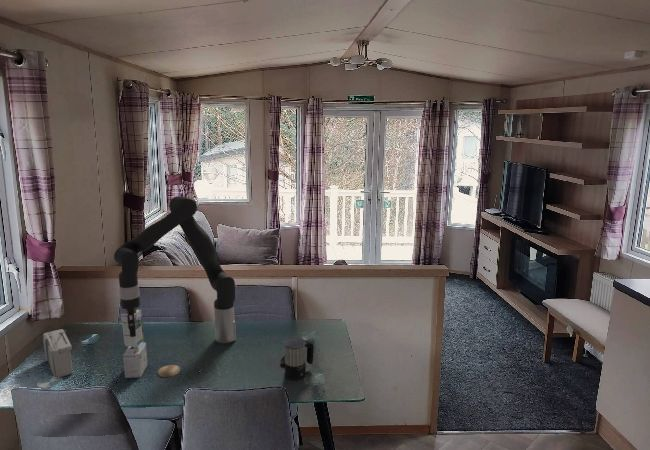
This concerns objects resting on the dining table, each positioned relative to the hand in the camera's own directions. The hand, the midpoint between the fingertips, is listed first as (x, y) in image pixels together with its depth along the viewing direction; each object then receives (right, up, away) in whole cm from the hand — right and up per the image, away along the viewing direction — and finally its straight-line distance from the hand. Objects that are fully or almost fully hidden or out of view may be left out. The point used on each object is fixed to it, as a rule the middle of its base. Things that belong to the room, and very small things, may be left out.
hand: (133, 332), depth 202 cm
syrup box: (0, -5, +1) cm, 5 cm away
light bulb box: (0, -18, +4) cm, 18 cm away
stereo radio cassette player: (-34, -17, +7) cm, 39 cm away
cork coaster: (+14, -18, +4) cm, 23 cm away
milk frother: (+66, -18, +6) cm, 69 cm away
